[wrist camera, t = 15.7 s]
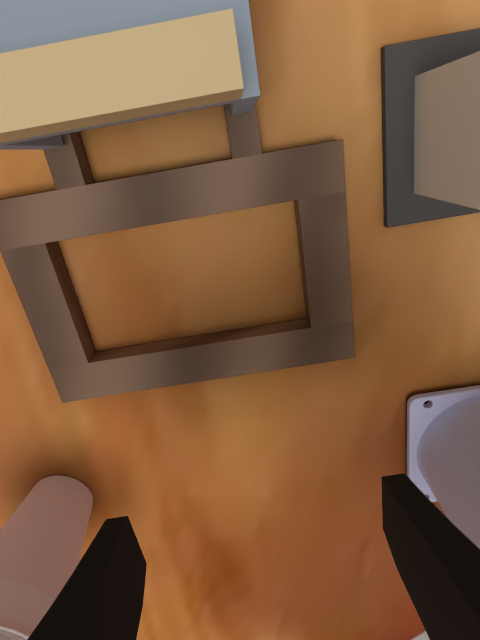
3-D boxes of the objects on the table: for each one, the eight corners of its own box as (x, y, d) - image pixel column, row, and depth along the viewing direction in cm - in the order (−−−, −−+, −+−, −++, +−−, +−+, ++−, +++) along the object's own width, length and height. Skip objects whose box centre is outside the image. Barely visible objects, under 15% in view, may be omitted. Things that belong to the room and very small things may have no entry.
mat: (563, 14, 15) (570, 11, 15) (538, 200, 18) (544, 201, 18) (381, 48, 16) (384, 45, 15) (384, 226, 18) (387, 227, 18)
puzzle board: (316, -172, 13) (324, -201, 12) (348, 346, 21) (354, 357, 20) (-115, -81, 14) (-145, -101, 13) (71, 389, 21) (62, 402, 20)
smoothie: (18, 445, 23) (-254, 826, 10) (126, 474, 24) (8, 851, 11) (2, 521, 25) (-234, 907, 12) (102, 544, 26) (-20, 923, 13)
